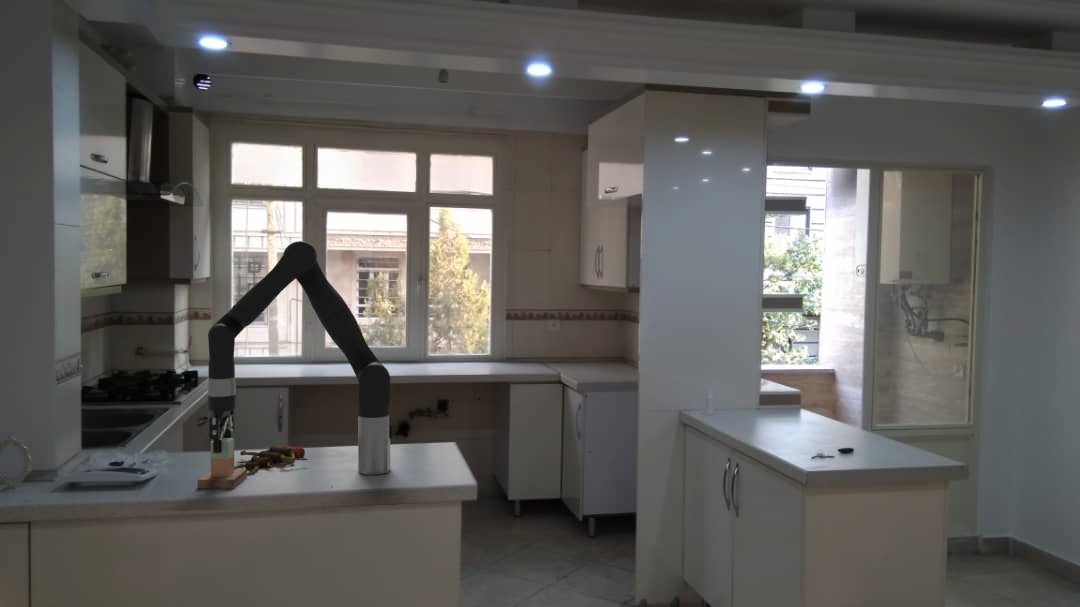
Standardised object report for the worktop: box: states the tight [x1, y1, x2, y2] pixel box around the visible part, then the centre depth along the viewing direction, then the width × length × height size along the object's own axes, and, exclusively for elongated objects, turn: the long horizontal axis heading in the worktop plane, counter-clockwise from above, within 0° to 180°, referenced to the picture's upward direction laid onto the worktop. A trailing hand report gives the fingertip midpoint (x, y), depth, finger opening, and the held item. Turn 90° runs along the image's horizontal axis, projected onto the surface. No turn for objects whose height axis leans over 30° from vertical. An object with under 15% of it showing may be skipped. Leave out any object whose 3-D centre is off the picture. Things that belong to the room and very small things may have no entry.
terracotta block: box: [210, 455, 235, 477], centre depth 241 cm, size 5×5×5 cm
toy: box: [234, 445, 309, 476], centre depth 263 cm, size 26×6×30 cm
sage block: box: [210, 437, 235, 460], centre depth 241 cm, size 5×5×5 cm
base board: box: [196, 468, 248, 489], centre depth 242 cm, size 10×12×2 cm
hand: (222, 449), depth 241 cm, fingers open, 8 cm apart
